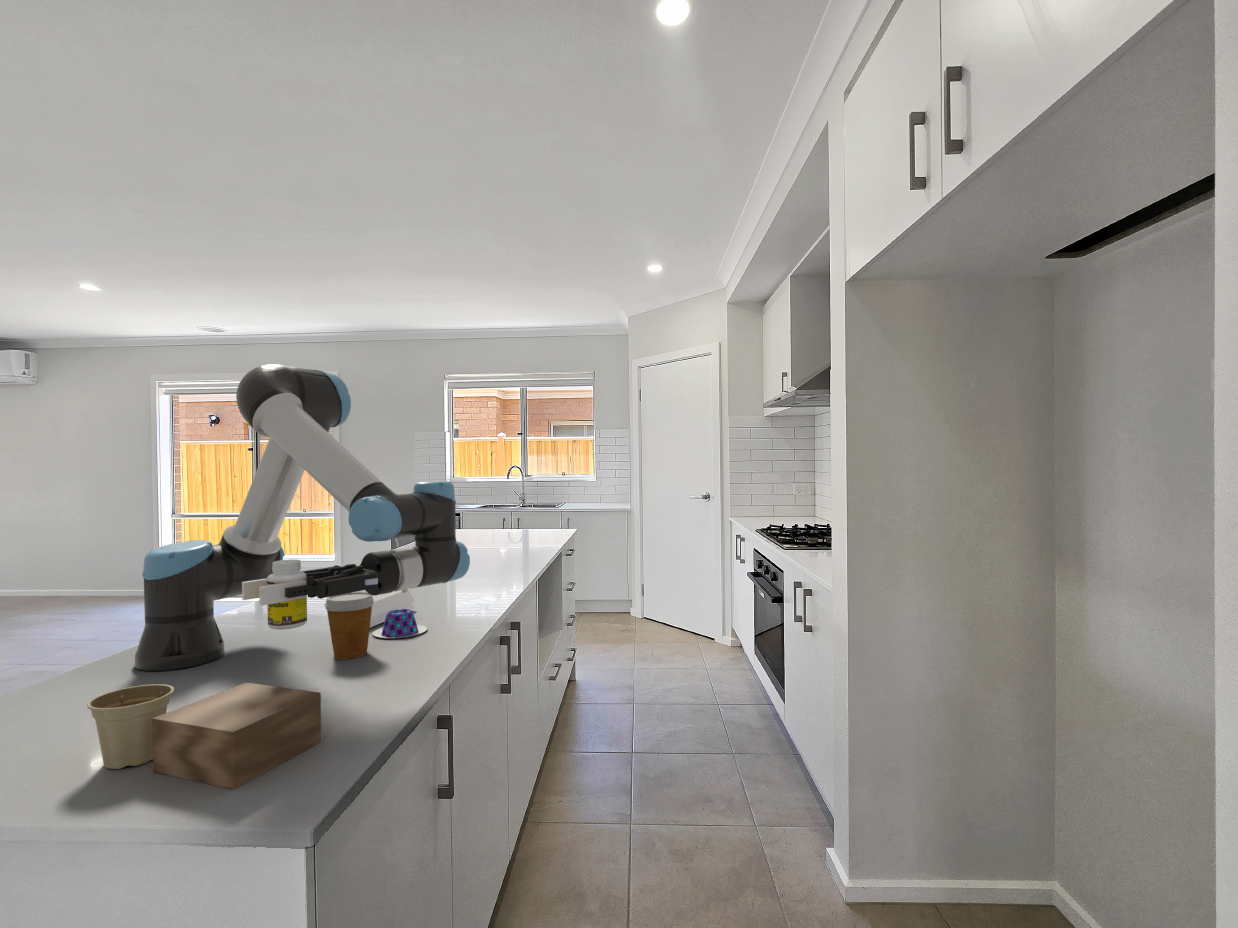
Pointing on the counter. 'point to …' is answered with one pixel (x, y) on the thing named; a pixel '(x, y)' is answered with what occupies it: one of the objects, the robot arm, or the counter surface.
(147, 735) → the flower pot
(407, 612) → the pudding
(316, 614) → the counter surface
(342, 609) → the disposable coffee cup
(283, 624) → the supplement bottle
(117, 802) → the counter surface
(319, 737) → the block
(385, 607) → the white rectangular box
